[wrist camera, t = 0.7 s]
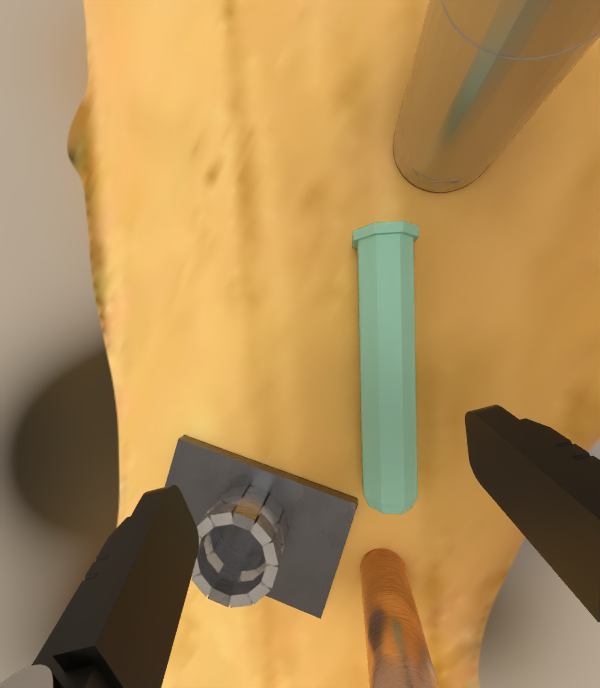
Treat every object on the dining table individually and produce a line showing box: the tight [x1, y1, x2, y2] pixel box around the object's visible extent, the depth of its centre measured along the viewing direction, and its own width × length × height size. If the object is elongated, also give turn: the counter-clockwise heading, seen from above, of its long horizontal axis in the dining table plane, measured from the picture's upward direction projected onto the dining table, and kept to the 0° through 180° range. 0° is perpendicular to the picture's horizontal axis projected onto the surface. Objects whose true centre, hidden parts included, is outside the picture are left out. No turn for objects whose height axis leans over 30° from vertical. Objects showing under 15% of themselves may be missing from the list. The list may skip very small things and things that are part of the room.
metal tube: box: [360, 549, 439, 688], centre depth 23 cm, size 5×5×16 cm
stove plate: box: [165, 435, 358, 619], centre depth 30 cm, size 12×19×6 cm, turn 73°
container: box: [352, 221, 419, 514], centre depth 28 cm, size 6×6×25 cm
